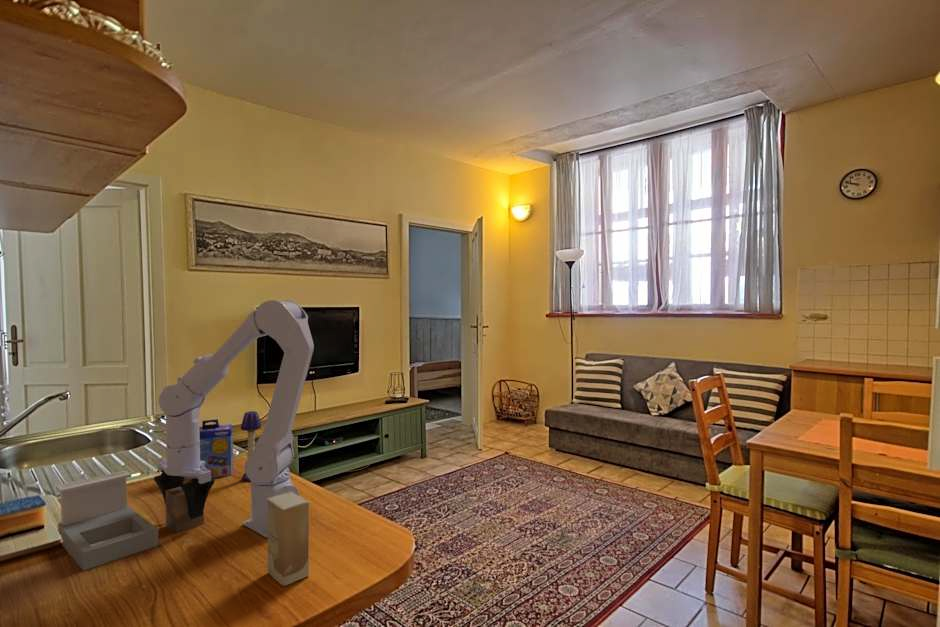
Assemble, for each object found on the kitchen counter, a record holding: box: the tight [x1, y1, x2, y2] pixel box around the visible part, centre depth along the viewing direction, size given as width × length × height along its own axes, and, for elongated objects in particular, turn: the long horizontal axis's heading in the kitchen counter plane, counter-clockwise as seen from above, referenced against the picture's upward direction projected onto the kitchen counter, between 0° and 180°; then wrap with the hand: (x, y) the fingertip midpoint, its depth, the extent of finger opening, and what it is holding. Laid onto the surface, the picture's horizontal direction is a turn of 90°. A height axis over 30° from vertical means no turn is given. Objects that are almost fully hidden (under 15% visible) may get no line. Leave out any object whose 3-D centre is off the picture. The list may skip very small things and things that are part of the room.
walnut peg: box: [165, 487, 205, 534], centre depth 99 cm, size 5×5×7 cm
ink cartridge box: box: [188, 419, 234, 481], centre depth 128 cm, size 10×6×14 cm, turn 113°
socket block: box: [55, 470, 160, 571], centre depth 92 cm, size 18×11×10 cm, turn 50°
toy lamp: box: [240, 410, 262, 482], centre depth 125 cm, size 5×5×17 cm
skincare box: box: [267, 492, 310, 587], centre depth 80 cm, size 6×4×12 cm
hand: (184, 512), depth 99 cm, fingers open, 7 cm apart
